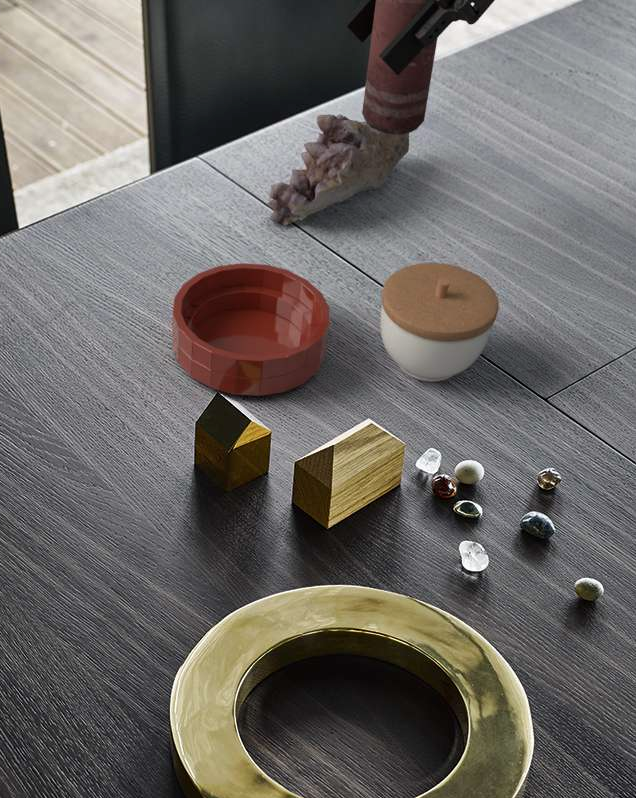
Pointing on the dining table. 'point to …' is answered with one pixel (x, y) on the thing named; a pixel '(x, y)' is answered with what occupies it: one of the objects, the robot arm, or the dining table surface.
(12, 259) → the dining table surface
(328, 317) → the bowl
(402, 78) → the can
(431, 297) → the trinket box
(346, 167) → the mineral specimen
